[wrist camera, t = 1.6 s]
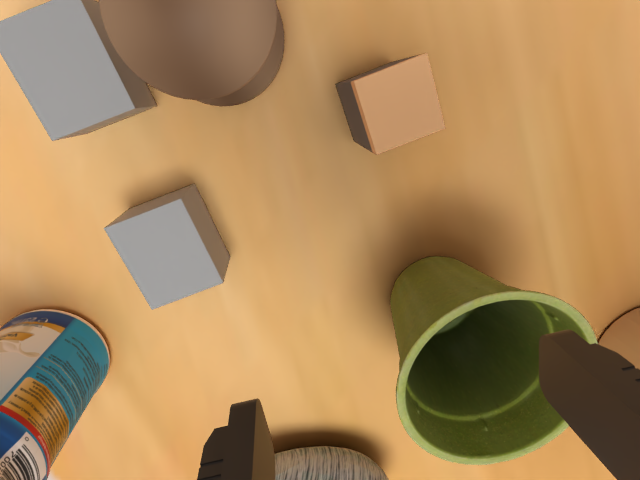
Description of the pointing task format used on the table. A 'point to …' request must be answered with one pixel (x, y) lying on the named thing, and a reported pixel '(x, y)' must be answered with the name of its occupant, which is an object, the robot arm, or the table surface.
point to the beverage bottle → (45, 387)
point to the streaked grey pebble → (326, 465)
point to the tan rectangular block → (392, 104)
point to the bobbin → (199, 45)
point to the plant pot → (474, 362)
